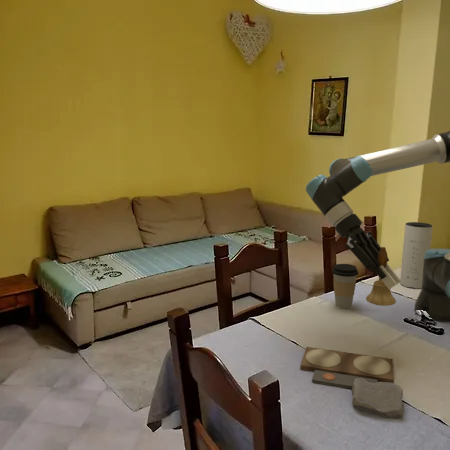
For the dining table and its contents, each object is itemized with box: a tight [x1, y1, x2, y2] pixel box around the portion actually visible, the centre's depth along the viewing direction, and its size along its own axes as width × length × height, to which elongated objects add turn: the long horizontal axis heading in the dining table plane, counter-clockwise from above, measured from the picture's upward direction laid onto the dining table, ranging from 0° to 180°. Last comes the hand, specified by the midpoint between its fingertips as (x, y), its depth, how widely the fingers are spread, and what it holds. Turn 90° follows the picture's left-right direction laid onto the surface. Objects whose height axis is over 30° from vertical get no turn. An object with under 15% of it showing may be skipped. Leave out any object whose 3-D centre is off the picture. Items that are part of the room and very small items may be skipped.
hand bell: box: [365, 246, 397, 307], centre depth 129 cm, size 8×8×16 cm
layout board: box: [299, 346, 395, 384], centre depth 124 cm, size 24×11×2 cm, turn 71°
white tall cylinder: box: [399, 221, 434, 290], centre depth 183 cm, size 11×10×26 cm
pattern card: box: [311, 370, 378, 390], centre depth 116 cm, size 16×5×1 cm, turn 71°
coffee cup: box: [331, 263, 359, 310], centre depth 164 cm, size 9×9×15 cm
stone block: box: [351, 379, 405, 419], centre depth 107 cm, size 12×5×10 cm
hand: (395, 285), depth 127 cm, fingers closed on hand bell, 2 cm apart
